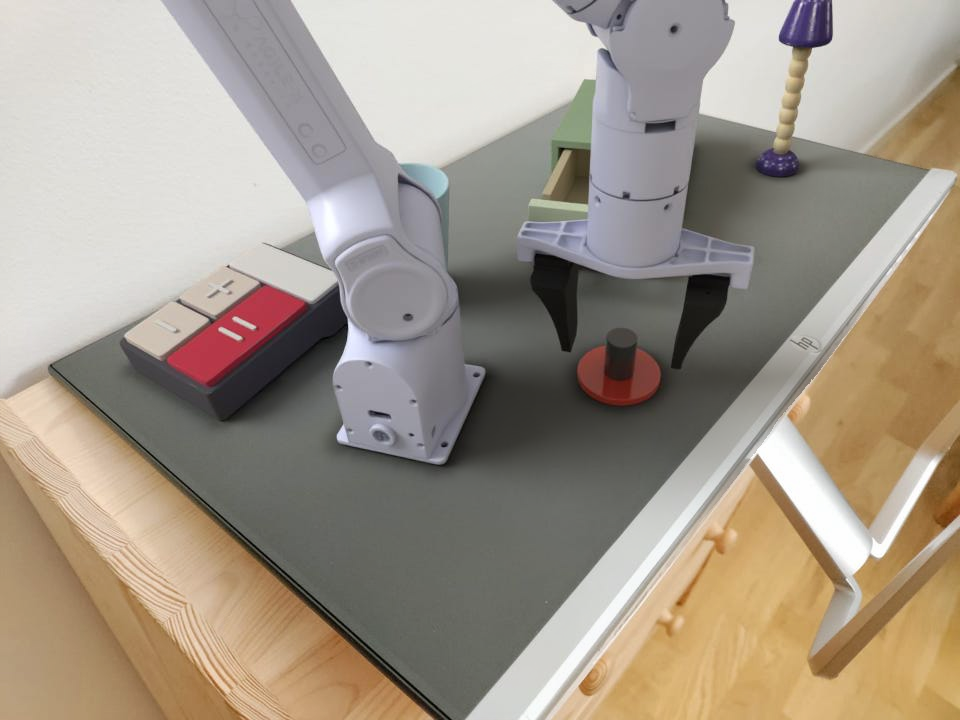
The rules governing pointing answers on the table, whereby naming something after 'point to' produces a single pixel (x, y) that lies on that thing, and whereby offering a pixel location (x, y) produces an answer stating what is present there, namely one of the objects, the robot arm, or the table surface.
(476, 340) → the table surface
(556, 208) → the drawer
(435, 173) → the cup
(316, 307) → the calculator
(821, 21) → the toy lamp
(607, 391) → the lid
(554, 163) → the cabinet
